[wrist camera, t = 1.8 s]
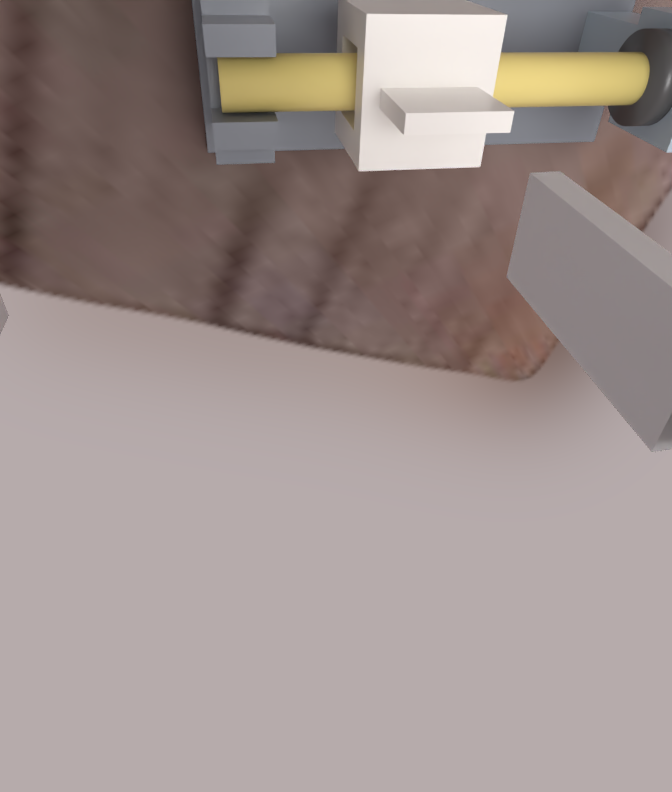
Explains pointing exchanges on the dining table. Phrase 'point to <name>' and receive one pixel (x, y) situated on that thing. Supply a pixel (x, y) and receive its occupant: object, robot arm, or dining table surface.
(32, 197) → the dining table surface
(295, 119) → the grey rod stand
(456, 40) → the sleeve
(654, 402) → the robot arm
